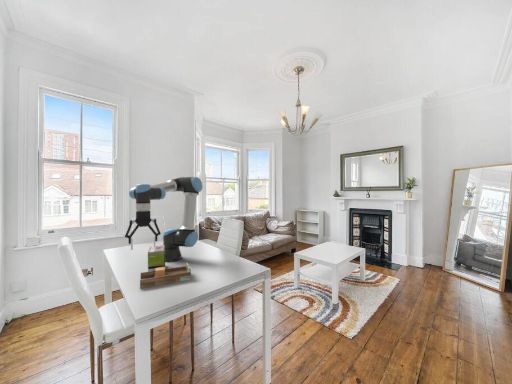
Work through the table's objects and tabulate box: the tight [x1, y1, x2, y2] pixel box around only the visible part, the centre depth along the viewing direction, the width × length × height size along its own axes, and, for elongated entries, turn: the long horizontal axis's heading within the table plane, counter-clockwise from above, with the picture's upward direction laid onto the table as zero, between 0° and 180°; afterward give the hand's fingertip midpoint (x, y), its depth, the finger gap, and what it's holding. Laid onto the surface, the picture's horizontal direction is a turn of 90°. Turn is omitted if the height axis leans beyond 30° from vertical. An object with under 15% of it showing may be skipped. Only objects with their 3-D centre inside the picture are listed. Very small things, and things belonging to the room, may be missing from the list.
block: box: [155, 267, 166, 277], centre depth 131 cm, size 5×5×4 cm
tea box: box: [147, 245, 166, 272], centre depth 147 cm, size 15×10×15 cm, turn 21°
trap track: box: [139, 262, 192, 289], centre depth 131 cm, size 12×27×6 cm, turn 116°
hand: (143, 248), depth 127 cm, fingers open, 11 cm apart
